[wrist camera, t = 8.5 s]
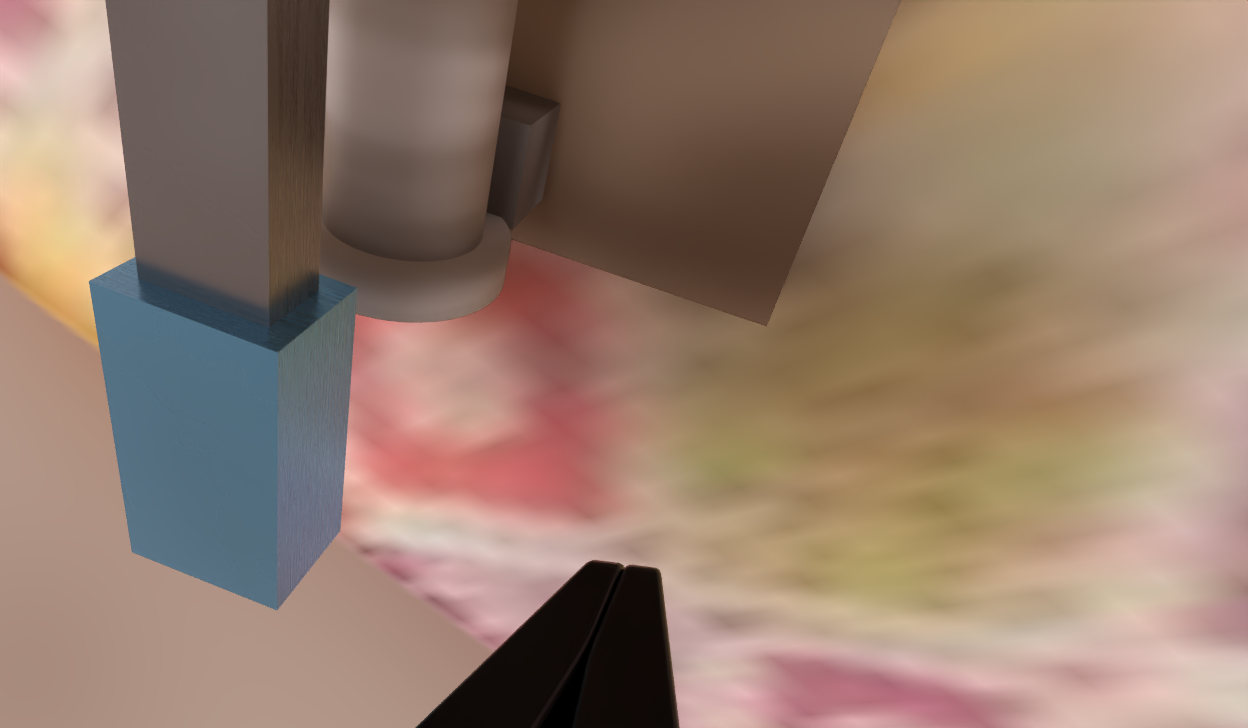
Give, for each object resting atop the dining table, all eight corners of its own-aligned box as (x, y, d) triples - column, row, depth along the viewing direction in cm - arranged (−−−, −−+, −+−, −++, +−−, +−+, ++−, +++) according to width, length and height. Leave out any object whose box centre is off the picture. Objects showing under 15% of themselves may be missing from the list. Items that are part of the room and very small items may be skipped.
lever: (112, -674, 7) (-116, -848, 5) (439, -579, 7) (307, -728, 5) (200, 476, 15) (121, 548, 14) (349, 534, 15) (287, 614, 13)
